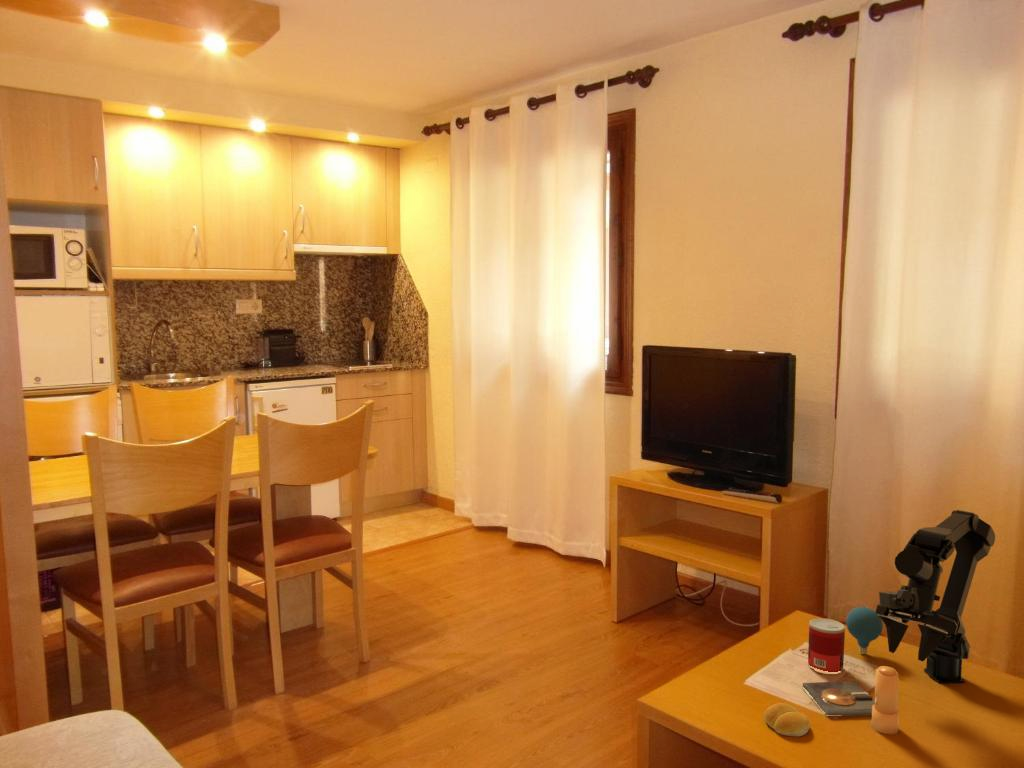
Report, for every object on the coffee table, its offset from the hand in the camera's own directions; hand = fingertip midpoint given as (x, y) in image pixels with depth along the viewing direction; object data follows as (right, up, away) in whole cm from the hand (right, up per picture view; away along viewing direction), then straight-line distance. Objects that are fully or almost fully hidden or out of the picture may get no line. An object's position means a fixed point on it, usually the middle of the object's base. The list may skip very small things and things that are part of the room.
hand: (905, 656), depth 166 cm
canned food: (-9, -10, +20) cm, 25 cm away
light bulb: (+3, -9, +28) cm, 30 cm away
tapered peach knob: (-8, -13, -7) cm, 16 cm away
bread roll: (-28, -13, -5) cm, 31 cm away
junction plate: (-12, -11, +4) cm, 17 cm away
